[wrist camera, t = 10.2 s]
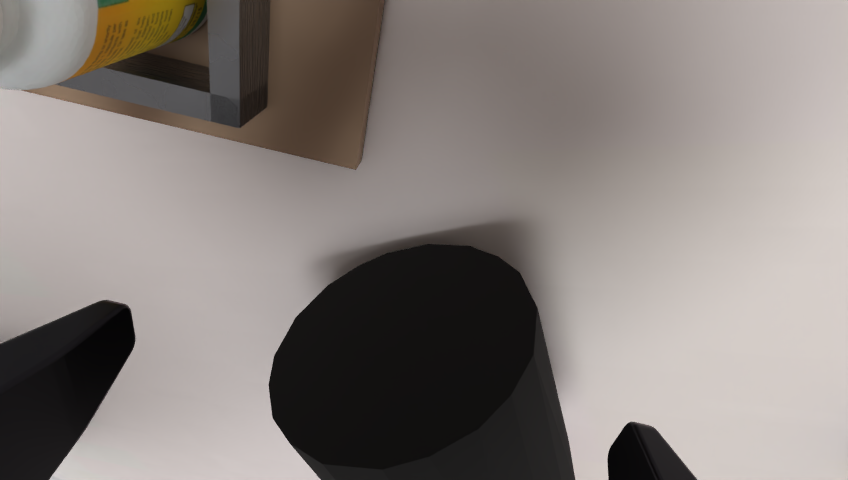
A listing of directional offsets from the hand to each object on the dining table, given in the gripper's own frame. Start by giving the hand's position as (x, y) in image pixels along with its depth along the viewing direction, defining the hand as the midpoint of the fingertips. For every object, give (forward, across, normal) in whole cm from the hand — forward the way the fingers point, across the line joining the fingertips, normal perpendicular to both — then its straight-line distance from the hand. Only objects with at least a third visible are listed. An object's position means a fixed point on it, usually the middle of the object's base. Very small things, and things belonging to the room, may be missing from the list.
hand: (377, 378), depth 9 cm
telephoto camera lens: (+13, -8, +20) cm, 26 cm away
